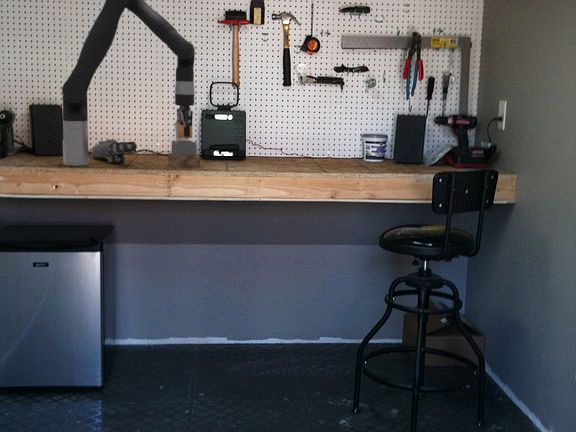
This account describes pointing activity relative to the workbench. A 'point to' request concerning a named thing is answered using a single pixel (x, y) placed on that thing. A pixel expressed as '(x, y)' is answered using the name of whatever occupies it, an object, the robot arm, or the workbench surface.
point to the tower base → (183, 161)
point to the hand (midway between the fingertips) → (184, 135)
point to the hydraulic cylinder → (113, 150)
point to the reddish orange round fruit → (182, 131)
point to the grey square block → (184, 148)
